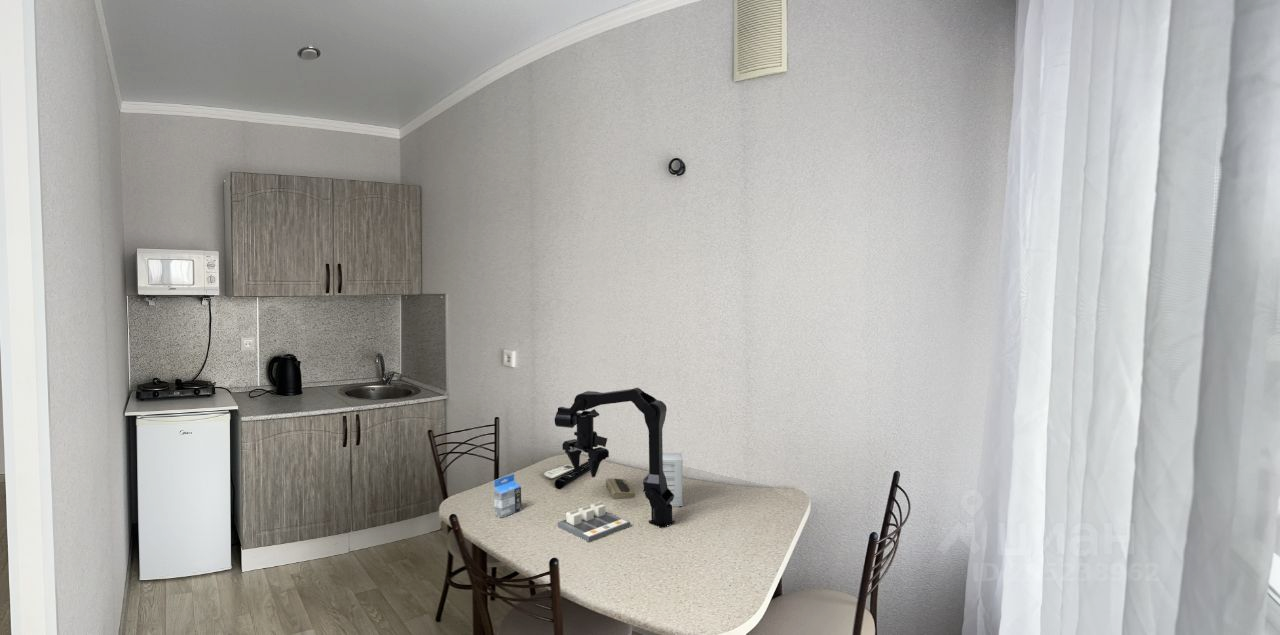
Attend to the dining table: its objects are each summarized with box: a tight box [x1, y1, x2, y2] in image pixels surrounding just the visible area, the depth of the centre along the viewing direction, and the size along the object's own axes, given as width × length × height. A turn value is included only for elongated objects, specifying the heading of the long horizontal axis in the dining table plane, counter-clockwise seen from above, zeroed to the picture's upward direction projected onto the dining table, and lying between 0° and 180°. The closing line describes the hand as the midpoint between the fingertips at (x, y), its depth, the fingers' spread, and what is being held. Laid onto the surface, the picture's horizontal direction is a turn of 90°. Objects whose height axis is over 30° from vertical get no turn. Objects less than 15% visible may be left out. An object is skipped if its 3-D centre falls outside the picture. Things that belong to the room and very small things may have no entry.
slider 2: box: [590, 500, 606, 517], centre depth 195 cm, size 4×3×4 cm
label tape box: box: [493, 473, 523, 519], centre depth 200 cm, size 9×4×12 cm, turn 143°
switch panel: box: [557, 510, 631, 543], centre depth 189 cm, size 16×17×2 cm
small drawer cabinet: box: [663, 452, 684, 507], centre depth 210 cm, size 10×9×17 cm
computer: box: [605, 477, 635, 500], centre depth 222 cm, size 16×8×3 cm, turn 13°
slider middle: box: [578, 504, 594, 521], centre depth 192 cm, size 4×3×4 cm
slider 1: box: [565, 508, 582, 525], centre depth 188 cm, size 4×3×4 cm
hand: (585, 474), depth 201 cm, fingers open, 9 cm apart
